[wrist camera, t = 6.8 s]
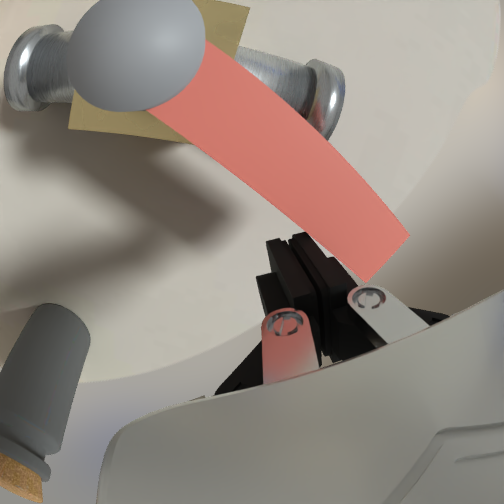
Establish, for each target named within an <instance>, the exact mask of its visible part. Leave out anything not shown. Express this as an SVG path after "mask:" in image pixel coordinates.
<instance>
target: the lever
mask: <svg viewBox="0 0 504 504" xmlns="http://www.w3.org/2000/svg"><path fill="white" fill-rule="evenodd" d="M66 64H67V72H68V75H69V79H70V81H71V83H72V86H73V87H74V89H75V90H76V92H77V93H78V94H79V95H80V96H81V97H82V98H83V99H84V100H85V101H87V102H88V103H90V104H91V105H93V106H95V107H98V108H100V109H103V110H108V111H114V112H131V111H148V112H149V113H151V114H152V115H154V116H155V117H156V118H158V119H159V120H161V121H162V122H164V123H165V124H166V125H168V126H169V127H171V128H172V129H173V130H175V131H176V132H178V133H179V134H180V135H182V136H183V137H185V138H186V139H187V140H189V141H190V142H191V143H193V144H194V145H196V146H197V147H198V148H200V149H201V150H202V151H204V152H205V153H206V154H208V155H209V156H210V157H212V158H213V159H214V160H216V161H217V162H218V163H220V164H221V165H222V166H224V167H225V168H226V169H228V170H229V171H230V172H232V173H233V174H234V175H235V176H237V177H238V178H239V179H241V180H242V181H243V182H245V183H246V184H247V185H248V186H250V187H251V188H252V189H253V190H255V191H256V192H257V193H259V194H260V195H261V196H262V197H264V198H265V199H266V200H267V201H269V202H270V203H271V204H272V205H274V206H275V207H276V208H277V209H279V210H280V211H281V212H282V213H284V214H285V215H286V216H287V217H289V218H290V219H291V220H292V221H293V222H295V223H296V224H297V225H298V226H300V227H301V228H302V229H303V230H304V231H306V232H307V233H308V234H309V235H310V236H312V237H313V238H314V239H315V240H316V241H318V242H319V243H320V244H321V245H322V246H323V247H325V248H326V249H327V250H328V251H329V252H331V253H332V254H333V255H334V256H335V257H336V258H338V259H339V260H340V261H341V262H342V263H343V264H344V265H346V266H347V267H348V268H349V269H350V270H352V271H353V272H354V273H355V274H356V275H357V276H358V277H359V278H360V279H362V280H363V281H364V282H365V283H366V282H367V281H368V280H369V279H370V278H371V277H372V276H373V275H374V274H375V273H376V272H377V271H378V270H379V269H380V268H381V267H382V266H383V265H384V264H385V263H386V261H387V260H388V259H389V258H390V257H391V256H392V255H393V254H394V253H395V252H396V251H397V249H398V248H399V247H400V246H401V245H402V244H403V243H404V242H405V240H406V239H407V238H408V237H409V236H410V235H409V233H408V232H407V231H406V229H405V228H404V227H403V225H402V224H401V223H400V222H399V220H398V219H397V218H396V217H395V215H394V214H393V213H392V212H391V211H390V209H389V208H388V207H387V206H386V204H385V203H384V202H383V201H382V200H381V199H380V197H379V196H378V195H377V194H376V193H375V192H374V190H373V189H372V188H371V187H370V186H369V185H368V184H367V182H366V181H365V180H364V179H363V178H362V177H361V176H360V175H359V174H358V172H357V171H356V170H355V169H354V168H353V167H352V166H351V165H350V164H349V163H348V162H347V161H346V160H345V158H344V157H343V156H342V155H341V154H340V153H339V152H338V151H337V150H336V149H335V148H334V147H333V146H332V145H331V144H330V143H329V142H328V141H327V140H326V139H325V138H324V137H323V136H322V135H321V134H320V133H319V132H318V131H317V130H316V129H315V128H314V127H313V126H311V125H310V124H309V123H308V122H307V121H306V120H305V119H304V118H303V117H302V116H301V115H300V114H299V113H297V112H296V111H295V110H294V109H293V108H292V107H291V106H290V105H289V104H287V103H286V102H285V101H284V100H283V99H282V98H281V97H279V96H278V95H277V94H276V93H275V92H274V91H272V90H271V89H270V88H269V87H268V86H266V85H265V84H264V83H263V82H262V81H260V80H259V79H258V78H257V77H255V76H254V75H253V74H252V73H250V72H249V71H248V70H247V69H245V68H244V67H243V66H241V65H240V64H239V63H238V62H236V61H235V60H234V59H232V58H231V57H230V56H228V55H227V54H225V53H224V52H223V51H221V50H220V49H219V48H217V47H216V46H214V45H213V44H211V43H210V42H209V41H207V40H206V39H205V26H204V21H203V18H202V15H201V13H200V11H199V9H198V8H197V6H196V5H195V4H194V2H193V1H192V0H100V1H98V2H97V3H96V4H95V5H94V6H92V7H91V8H90V9H89V10H88V11H87V12H86V14H85V15H84V16H83V17H82V18H81V20H80V21H79V23H78V24H77V26H76V28H75V29H74V31H73V33H72V36H71V38H70V41H69V45H68V49H67V57H66Z"/></svg>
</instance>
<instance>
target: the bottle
mask: <svg viewBox="0 0 504 504" xmlns="http://www.w3.org/2000/svg"><path fill="white" fill-rule="evenodd" d="M89 346H90V334H89V332H88V329H87V327H86V326H85V324H84V323H83V322H82V321H81V319H80V318H79V317H78V316H77V315H75V314H74V313H73V312H71V311H70V310H68V309H66V308H64V307H62V306H59V305H55V304H44V305H41V306H39V307H38V308H37V309H36V310H35V312H34V313H33V314H32V316H31V317H30V319H29V321H28V322H27V324H26V326H25V327H24V329H23V331H22V333H21V334H20V336H19V338H18V340H17V341H16V343H15V345H14V347H13V349H12V350H11V352H10V354H9V356H8V358H7V360H6V362H5V364H4V366H3V368H2V370H1V372H0V486H1V487H3V488H5V489H7V490H9V491H10V492H12V493H14V494H17V495H19V496H21V497H23V498H26V499H28V500H31V501H34V502H38V503H42V502H43V498H42V484H41V481H43V482H46V481H49V479H50V474H51V469H50V467H49V465H48V464H46V463H45V462H44V458H45V455H51V454H55V453H57V452H59V451H60V449H61V445H62V441H63V436H64V432H65V429H66V425H67V421H68V417H69V413H70V409H71V405H72V402H73V398H74V395H75V391H76V388H77V385H78V381H79V378H80V375H81V372H82V368H83V365H84V362H85V359H86V356H87V353H88V350H89Z"/></svg>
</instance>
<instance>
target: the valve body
mask: <svg viewBox="0 0 504 504" xmlns="http://www.w3.org/2000/svg"><path fill="white" fill-rule="evenodd" d="M192 1H193V2H194V4H195V5H196V6H197V8H198V9H199V11H200V13H201V15H202V18H203V21H204V26H205V39H206V40H207V41H209V42H210V43H211V44H213V45H214V46H216V47H217V48H219V49H220V50H221V51H223V52H224V53H225V54H227V55H228V56H230V57H231V58H232V59H234V60H235V61H236V62H238V63H239V64H240V65H241V66H243V67H244V68H245V69H247V70H248V71H249V72H250V73H252V74H253V75H254V76H255V77H257V78H258V79H259V80H260V81H262V82H263V83H264V84H265V85H266V86H268V87H269V88H270V89H271V90H272V91H274V92H275V93H276V94H277V95H278V96H279V97H281V98H282V99H283V100H284V101H285V102H286V103H287V104H289V105H290V106H291V107H292V108H293V109H294V110H295V111H296V112H297V113H299V114H300V115H301V116H302V117H303V118H304V119H305V120H306V121H307V122H308V123H309V124H310V125H311V126H313V127H314V128H315V129H316V130H317V131H318V132H319V133H320V134H321V135H322V136H323V137H324V138H325V139H326V140H327V141H328V140H329V138H330V136H331V135H332V133H333V131H334V129H335V127H336V125H337V122H338V120H339V117H340V114H341V111H342V107H343V102H344V96H345V79H344V75H343V73H342V71H341V70H340V69H339V68H337V67H335V66H332V65H330V64H327V63H325V62H322V61H319V60H317V59H312V60H310V61H309V62H308V63H307V64H306V65H303V64H300V63H297V62H294V61H291V60H288V59H285V58H282V57H278V56H275V55H271V54H268V53H264V52H261V51H257V50H253V49H249V48H245V47H241V46H238V45H239V42H240V38H241V35H242V32H243V29H244V26H245V23H246V19H247V16H248V13H249V10H250V8H249V7H245V6H241V5H236V4H232V3H227V2H221V1H216V0H192ZM72 33H73V31H68V32H64V31H63V29H62V28H61V27H60V26H58V25H54V24H52V25H44V26H37V27H32V28H30V29H28V30H26V31H25V32H24V33H23V34H22V35H21V36H20V37H19V38H18V39H17V41H16V42H15V44H14V45H13V47H12V49H11V51H10V53H9V56H8V59H7V62H6V66H5V71H4V91H5V95H6V98H7V101H8V103H9V104H10V106H11V107H12V108H13V109H15V110H17V111H40V110H43V109H44V108H46V107H47V106H48V105H49V104H50V103H51V102H65V103H72V106H71V112H70V118H69V125H68V129H75V130H87V131H98V132H108V133H117V134H126V135H134V136H142V137H149V138H156V139H162V140H169V141H175V142H181V143H187V144H193V143H191V142H190V141H189V140H187V139H186V138H185V137H183V136H182V135H180V134H179V133H178V132H176V131H175V130H173V129H172V128H171V127H169V126H168V125H166V124H165V123H164V122H162V121H161V120H159V119H158V118H156V117H155V116H154V115H152V114H151V113H149V112H148V111H131V112H114V111H108V110H103V109H100V108H98V107H95V106H93V105H91V104H90V103H88V102H87V101H85V100H84V99H83V98H82V97H81V96H80V95H79V94H78V93H77V92H76V90H75V89H74V87H73V86H72V83H71V81H70V79H69V75H68V72H67V64H66V57H67V49H68V45H69V41H70V38H71V36H72ZM193 145H194V144H193Z"/></svg>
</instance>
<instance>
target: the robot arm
mask: <svg viewBox="0 0 504 504" xmlns="http://www.w3.org/2000/svg"><path fill="white" fill-rule="evenodd" d="M288 243H289V245H288V244H287V242H286V240H284V241H281V240H280V238H277V239H273V240H269V241H266V246H267V251H268V256H269V261H270V267H271V272H272V273H268V274H264V275H260V276H256V280H257V285H258V289H259V293H260V298H261V302H262V305H263V309H264V313H265V316H266V317H265V318H264V320H263V322H262V326H261V330H262V340H261V341H260V343H259V344H258V345H257V346H256V347H255V348H254V349H253V350H252V352H251V353H250V354H249V355H248V356H247V357H246V358H245V359H244V360H243V362H242V363H241V364H240V365H239V366H238V367H237V368H236V369H235V370H234V371H233V372H232V374H231V375H230V376H229V377H228V378H227V379H226V380H225V381H224V382H223V383H222V384H221V385H220V386H219V388H218V389H217V391H216V392H215V395H214V396H211V397H207V398H205V396H201V397H199V398H196V399H193V400H190V401H188V402H184V403H180V404H176V405H172V406H168V407H165V408H163V409H160V410H157V411H154V412H151V413H149V414H147V415H145V416H142V417H140V418H138V419H136V420H134V421H132V422H131V423H129V424H127V425H126V426H124V427H123V428H122V429H120V430H119V431H118V432H117V433H116V434H115V435H114V436H113V438H112V439H111V441H110V443H109V445H108V447H107V449H106V452H105V455H104V459H103V462H102V466H101V471H100V476H99V482H98V491H97V500H96V504H504V290H502V291H500V292H498V293H496V294H494V295H492V296H490V297H488V298H486V299H484V300H482V301H480V302H479V303H476V304H475V305H473V306H471V307H469V308H467V309H465V310H463V311H461V312H459V313H456V314H452V316H451V317H450V316H448V315H445V314H442V313H436V312H431V311H426V310H421V309H415V308H410V307H407V306H405V305H404V304H403V303H402V302H401V301H399V300H398V299H397V298H396V297H395V296H393V295H392V294H391V293H390V292H388V291H387V290H386V289H384V288H382V287H380V286H377V285H362V286H358V285H357V284H356V283H355V281H354V280H353V279H352V278H351V276H350V275H349V274H348V273H347V271H346V270H345V269H344V268H343V267H342V265H341V264H340V263H339V262H338V261H337V259H336V258H335V257H329V258H327V257H326V256H325V254H324V253H323V252H322V251H321V249H320V248H319V247H318V246H317V244H316V243H315V242H314V241H313V239H312V238H311V237H310V236H309V235H308V233H307V232H302V233H298V234H294V235H292V239H288ZM321 350H322V352H323V355H324V356H330V358H331V360H332V362H333V363H334V362H337V361H340V360H343V361H341V362H338V363H335V364H332V365H329V366H326V367H323V368H320V366H321V365H322V360H321V356H322V355H321ZM319 368H320V369H319Z"/></svg>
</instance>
